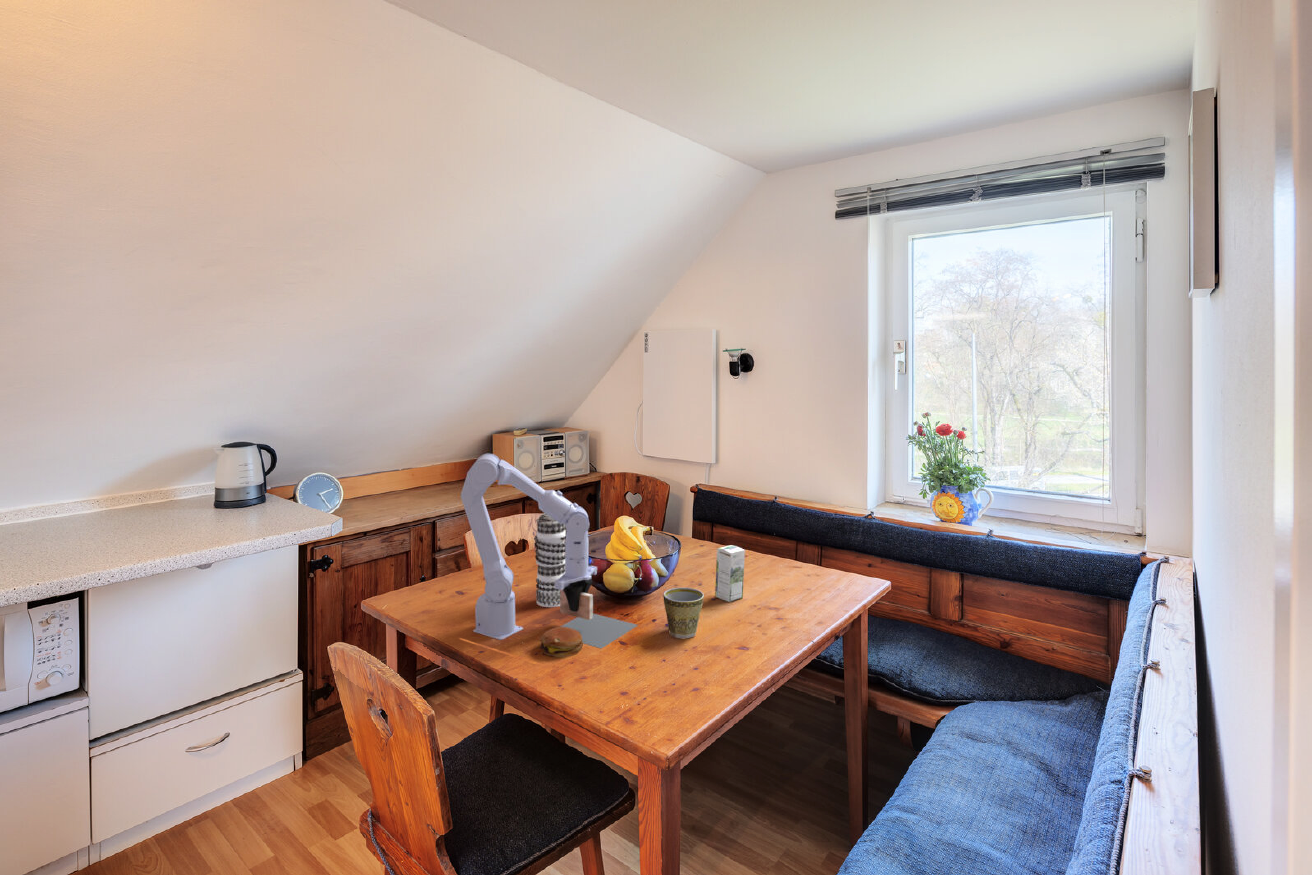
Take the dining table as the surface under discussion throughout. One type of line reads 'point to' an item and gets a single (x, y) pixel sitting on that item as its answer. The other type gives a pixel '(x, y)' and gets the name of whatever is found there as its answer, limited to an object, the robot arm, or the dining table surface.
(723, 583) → the syrup box
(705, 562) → the dining table surface
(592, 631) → the mat
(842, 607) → the dining table surface
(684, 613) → the ceramic cup
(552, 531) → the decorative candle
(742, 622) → the dining table surface
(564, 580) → the robot arm
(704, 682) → the dining table surface
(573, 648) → the burger
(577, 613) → the tile
